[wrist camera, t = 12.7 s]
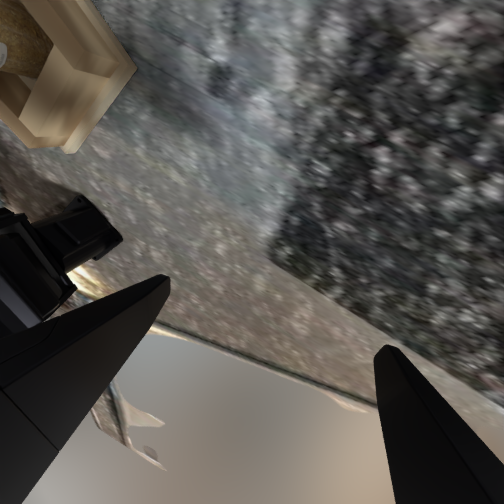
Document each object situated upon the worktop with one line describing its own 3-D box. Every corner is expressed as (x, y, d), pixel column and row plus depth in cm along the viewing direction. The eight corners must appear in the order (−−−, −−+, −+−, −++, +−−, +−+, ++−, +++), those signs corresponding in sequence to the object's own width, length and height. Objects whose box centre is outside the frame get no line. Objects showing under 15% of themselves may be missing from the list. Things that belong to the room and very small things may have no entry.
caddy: (75, 152, 21) (32, 157, 18) (-32, 32, 18) (-111, 9, 14) (137, 68, 16) (94, 52, 13) (8, -120, 13) (-97, -208, 10)
